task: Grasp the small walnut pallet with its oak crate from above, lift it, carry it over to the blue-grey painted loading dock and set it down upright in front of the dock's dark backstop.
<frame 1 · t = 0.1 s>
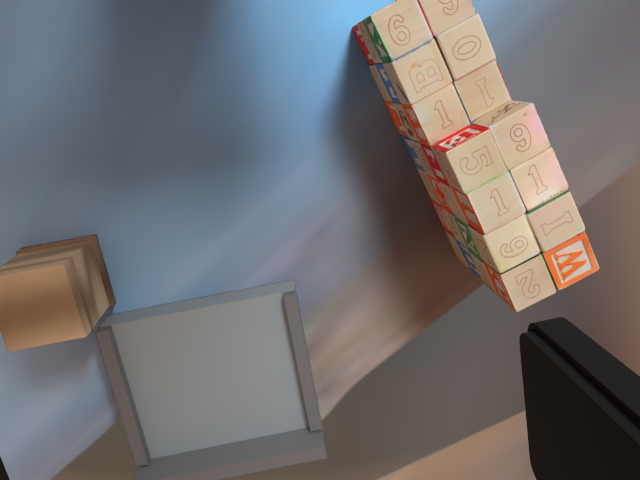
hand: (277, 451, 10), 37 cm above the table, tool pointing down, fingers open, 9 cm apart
dock: (219, 369, 49), on the table
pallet: (70, 275, 46), on the table
stack of blocks: (439, 132, 46), on the table
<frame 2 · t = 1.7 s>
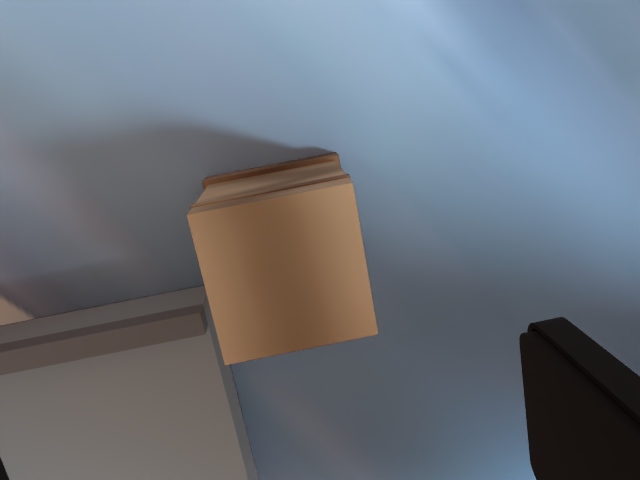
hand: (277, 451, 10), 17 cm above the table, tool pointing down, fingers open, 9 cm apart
dock: (110, 456, 29), on the table
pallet: (283, 227, 26), on the table
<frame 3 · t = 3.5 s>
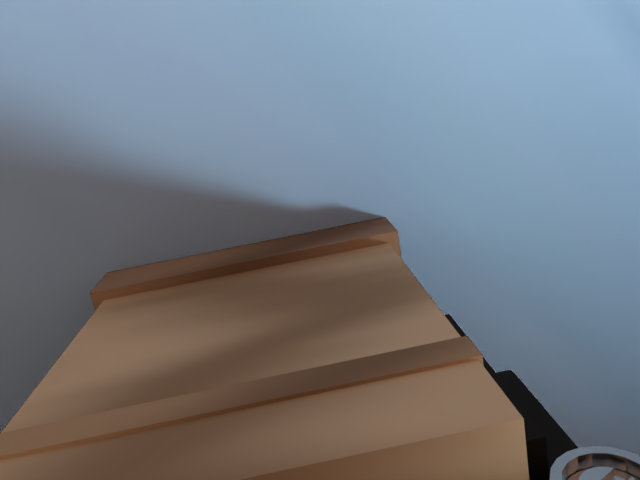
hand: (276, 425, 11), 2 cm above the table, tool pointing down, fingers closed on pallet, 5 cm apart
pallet: (275, 368, 13), on the table, touching gripper
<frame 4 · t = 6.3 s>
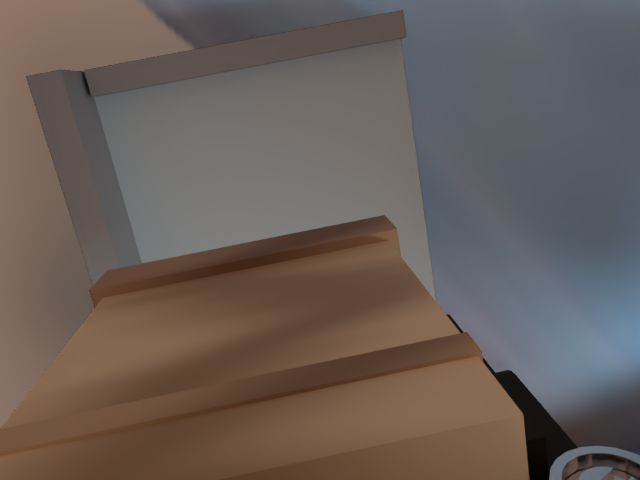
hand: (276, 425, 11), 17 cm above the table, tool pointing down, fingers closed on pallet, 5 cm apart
dock: (269, 219, 27), on the table
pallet: (275, 366, 13), point 15 cm above the table, touching gripper
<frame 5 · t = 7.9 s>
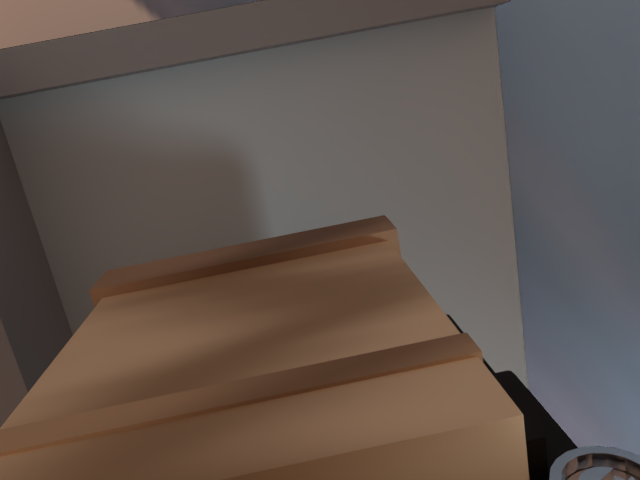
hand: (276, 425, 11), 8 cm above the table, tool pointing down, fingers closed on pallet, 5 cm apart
dock: (278, 281, 18), on the table
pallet: (275, 367, 13), point 6 cm above the table, touching gripper
when the fingers open (6 cm above the table, at t = 9.3 s): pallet stays where it is, resting on dock.
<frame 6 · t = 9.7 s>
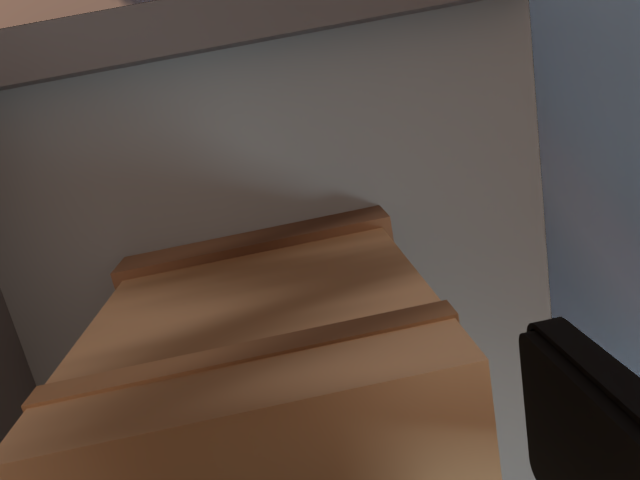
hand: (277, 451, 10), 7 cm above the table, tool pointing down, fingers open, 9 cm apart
dock: (274, 308, 16), on the table
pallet: (279, 346, 14), point 2 cm above the table, touching dock
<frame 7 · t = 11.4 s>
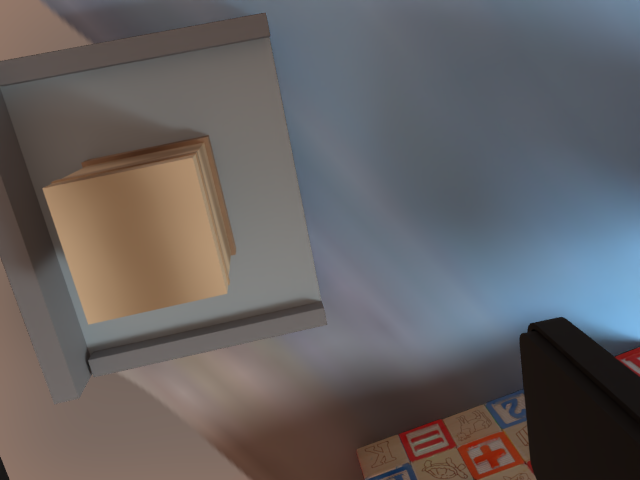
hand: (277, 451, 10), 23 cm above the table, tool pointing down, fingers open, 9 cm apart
dock: (169, 196, 31), on the table
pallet: (164, 205, 28), point 2 cm above the table, touching dock
stack of blocks: (512, 428, 38), on the table
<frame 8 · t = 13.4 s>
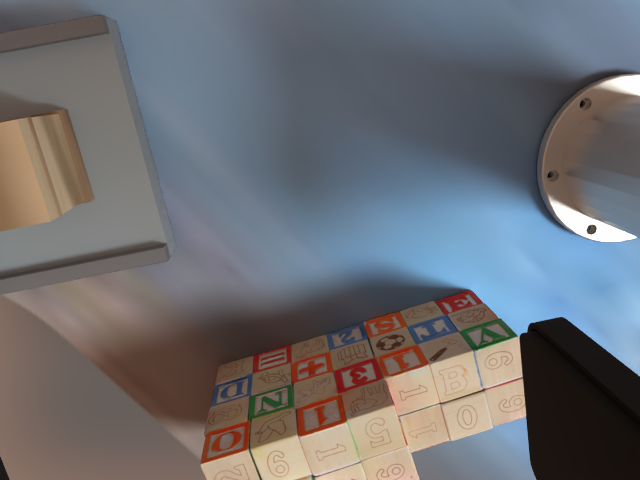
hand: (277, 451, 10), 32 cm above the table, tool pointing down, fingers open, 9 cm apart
dock: (48, 159, 39), on the table
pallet: (36, 163, 37), point 2 cm above the table, touching dock
stack of blocks: (353, 358, 46), on the table
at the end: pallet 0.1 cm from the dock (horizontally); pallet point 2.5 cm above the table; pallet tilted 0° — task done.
